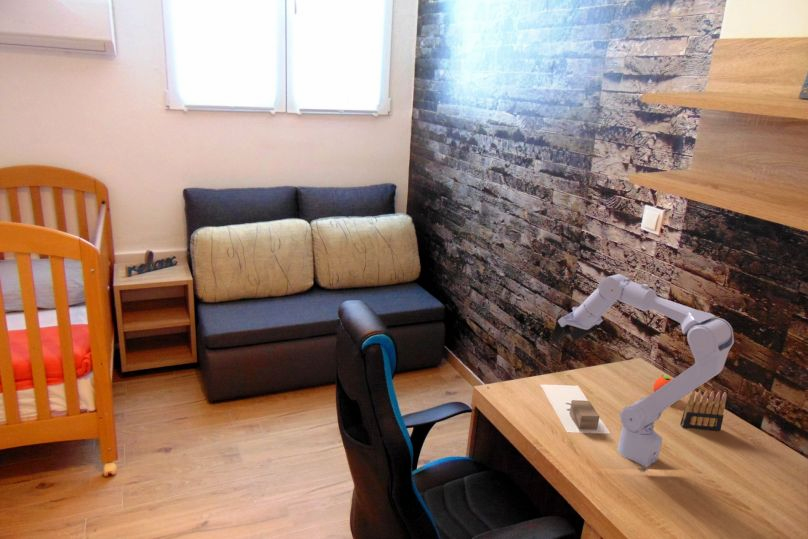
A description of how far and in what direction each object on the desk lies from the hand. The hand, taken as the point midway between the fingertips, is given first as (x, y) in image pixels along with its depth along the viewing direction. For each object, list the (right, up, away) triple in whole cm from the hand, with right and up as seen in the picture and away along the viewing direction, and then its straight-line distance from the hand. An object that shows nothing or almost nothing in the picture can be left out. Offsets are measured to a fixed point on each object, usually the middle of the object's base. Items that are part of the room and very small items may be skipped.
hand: (563, 338), depth 167 cm
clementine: (+36, -21, +20) cm, 47 cm away
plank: (+5, -22, +8) cm, 24 cm away
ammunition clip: (+40, -26, +5) cm, 48 cm away
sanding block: (+6, -23, 0) cm, 24 cm away
